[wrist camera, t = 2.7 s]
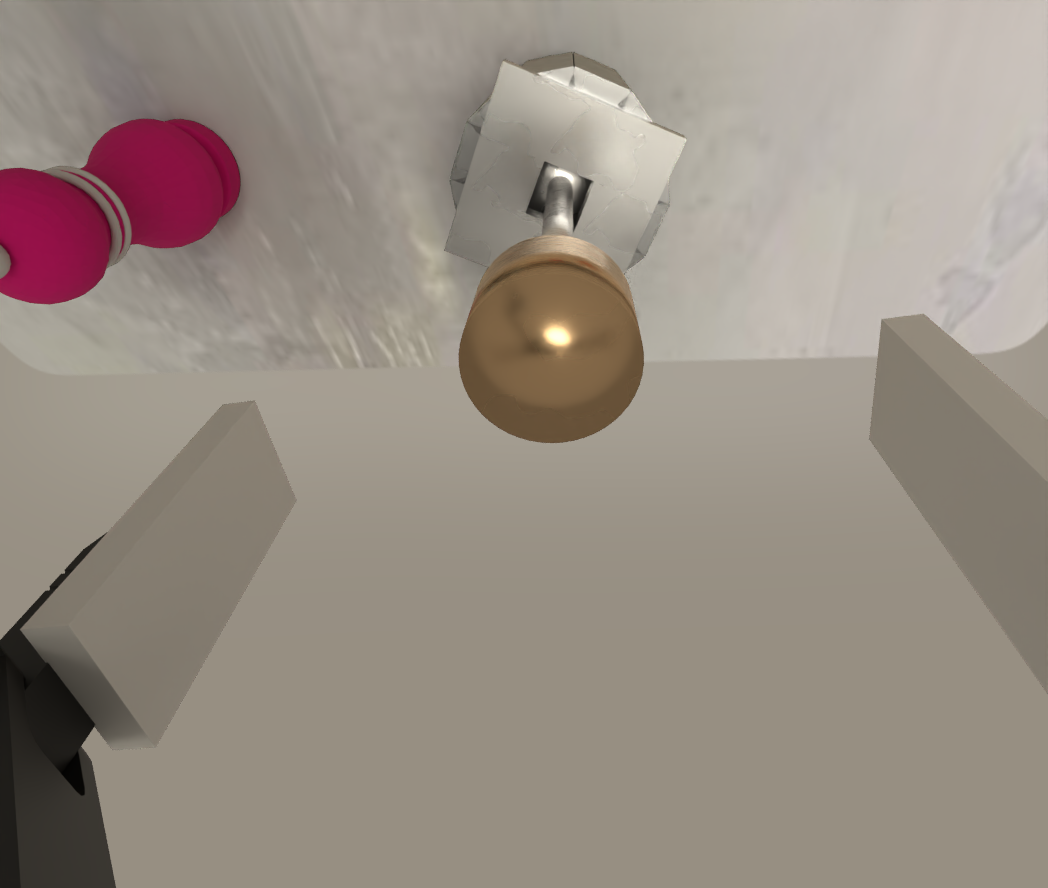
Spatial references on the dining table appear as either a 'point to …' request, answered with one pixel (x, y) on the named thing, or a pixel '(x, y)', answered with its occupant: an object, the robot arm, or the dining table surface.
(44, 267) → the pepper mill
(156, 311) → the dining table surface
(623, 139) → the faceted grey canister
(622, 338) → the plunger
